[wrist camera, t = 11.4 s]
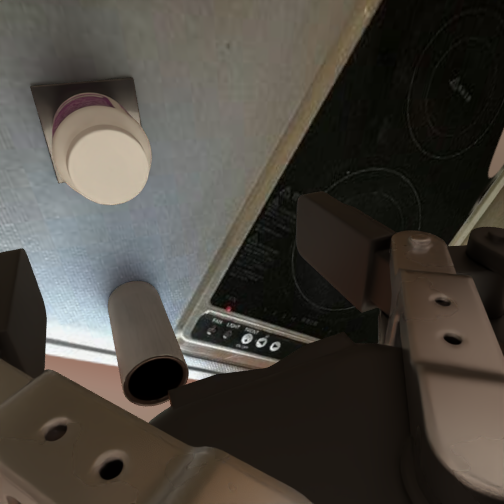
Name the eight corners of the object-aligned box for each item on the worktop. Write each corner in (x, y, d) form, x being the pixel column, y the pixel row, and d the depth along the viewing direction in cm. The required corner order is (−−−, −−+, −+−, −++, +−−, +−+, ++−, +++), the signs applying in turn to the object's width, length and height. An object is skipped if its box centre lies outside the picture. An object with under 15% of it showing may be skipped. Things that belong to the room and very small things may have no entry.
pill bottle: (43, 154, 27) (37, 201, 20) (64, 78, 26) (67, 95, 18) (121, 179, 30) (143, 228, 22) (144, 111, 29) (176, 138, 21)
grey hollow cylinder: (123, 272, 34) (145, 348, 26) (168, 290, 37) (201, 364, 28) (97, 314, 35) (110, 401, 26) (143, 328, 37) (167, 411, 29)
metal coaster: (30, 85, 26) (29, 86, 25) (132, 77, 28) (133, 77, 28) (58, 182, 29) (58, 183, 29) (148, 167, 31) (149, 169, 31)
